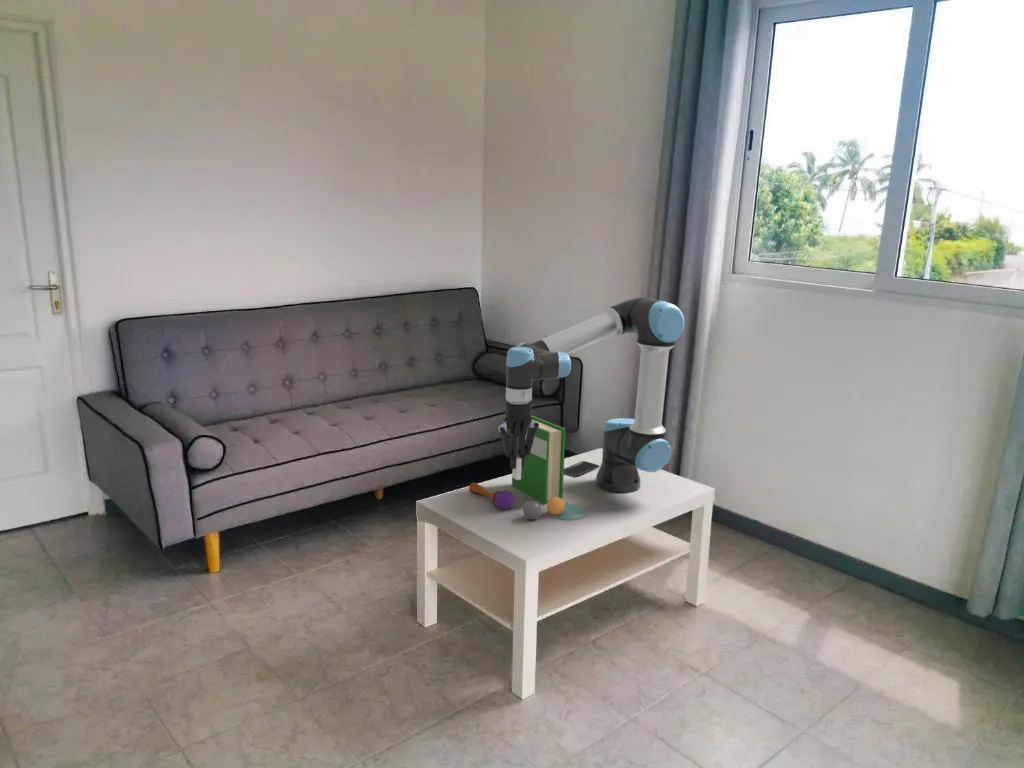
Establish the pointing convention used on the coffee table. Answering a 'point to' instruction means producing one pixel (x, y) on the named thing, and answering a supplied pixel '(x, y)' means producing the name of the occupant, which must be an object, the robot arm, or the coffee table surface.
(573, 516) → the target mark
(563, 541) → the coffee table surface
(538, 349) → the robot arm
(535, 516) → the gray ball
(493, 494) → the kendama
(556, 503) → the orange ball
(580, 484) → the coffee table surface
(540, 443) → the hardback book
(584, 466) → the phone
